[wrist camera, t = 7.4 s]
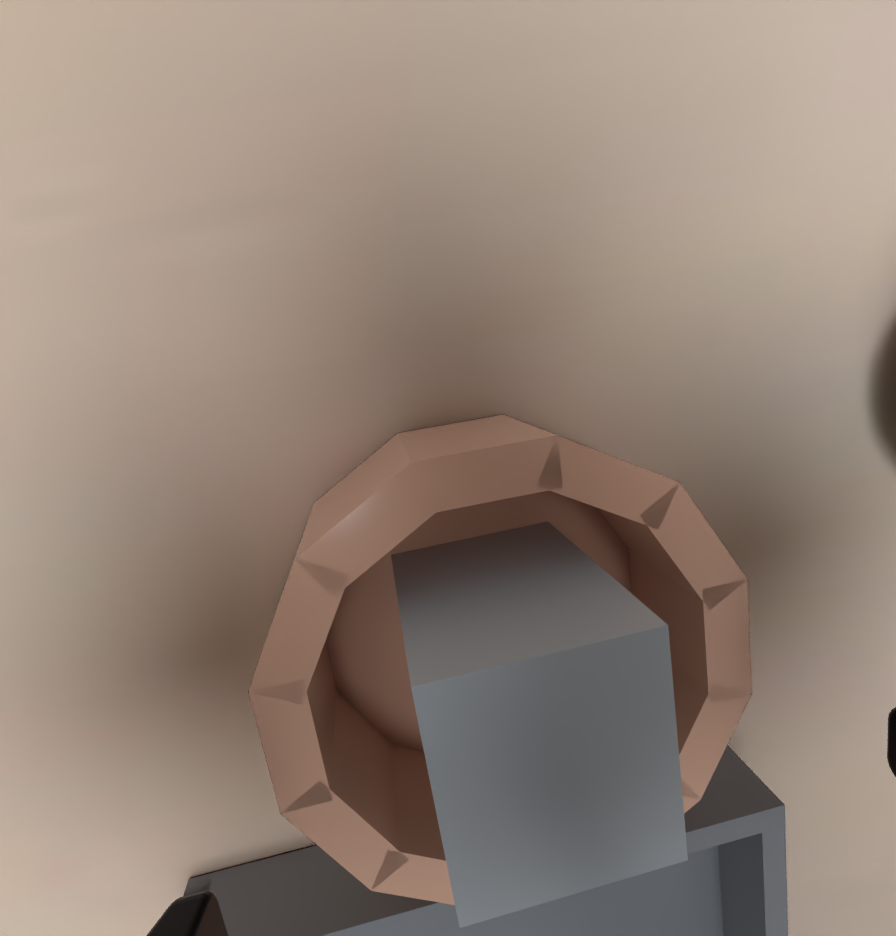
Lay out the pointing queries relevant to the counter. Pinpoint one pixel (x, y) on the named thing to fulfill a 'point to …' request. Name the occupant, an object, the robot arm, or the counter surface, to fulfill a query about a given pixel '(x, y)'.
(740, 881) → the tray
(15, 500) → the counter surface
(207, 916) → the robot arm
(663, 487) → the bowl
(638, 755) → the stone
